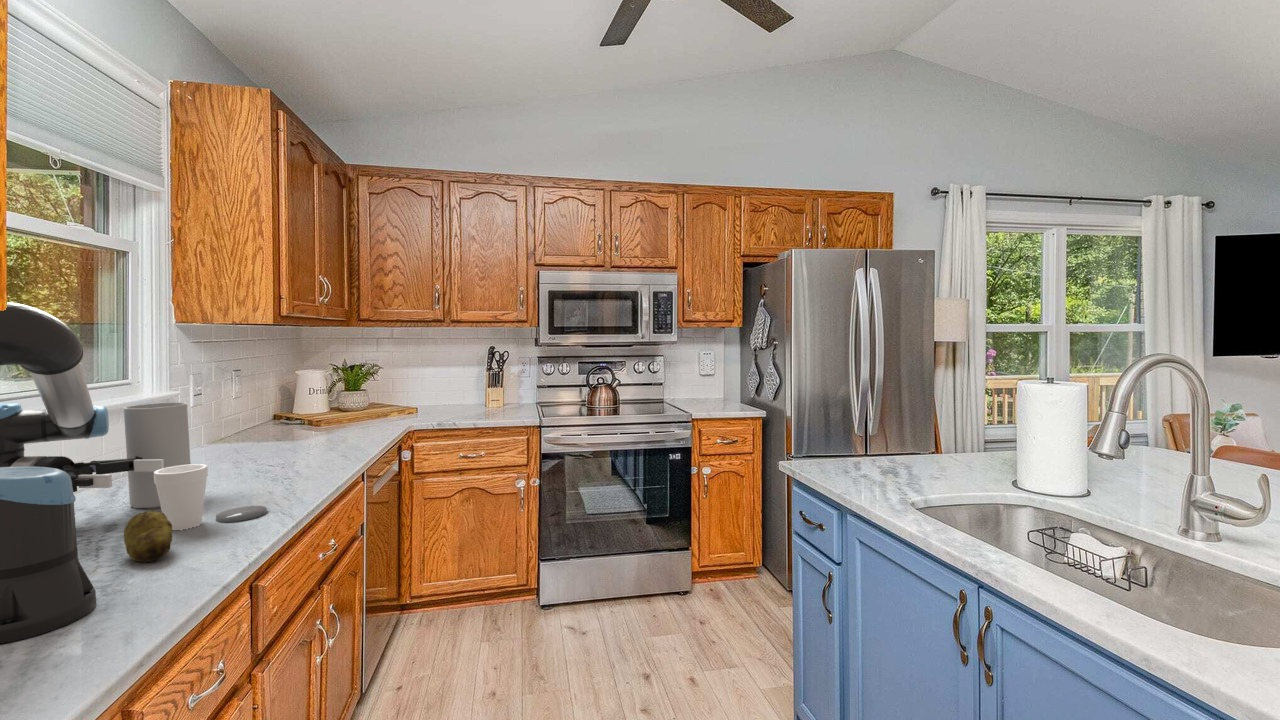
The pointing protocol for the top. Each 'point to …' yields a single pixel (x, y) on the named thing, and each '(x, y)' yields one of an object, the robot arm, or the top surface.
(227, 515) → the coaster
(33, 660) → the top surface
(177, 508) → the foam cup
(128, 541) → the potato
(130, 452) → the cylinder vase
